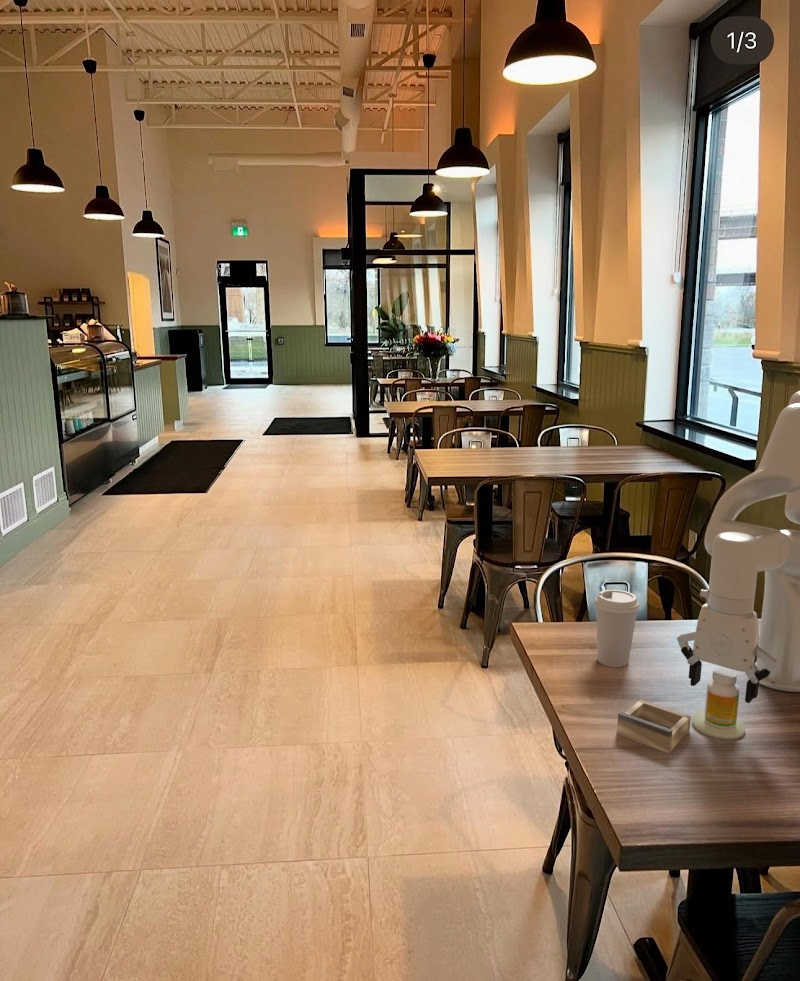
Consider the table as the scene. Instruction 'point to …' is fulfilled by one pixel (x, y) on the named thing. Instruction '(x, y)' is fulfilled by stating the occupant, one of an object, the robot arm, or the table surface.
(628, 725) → the can holder
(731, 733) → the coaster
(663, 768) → the table surface
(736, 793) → the table surface
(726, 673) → the supplement bottle
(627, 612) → the coffee cup
